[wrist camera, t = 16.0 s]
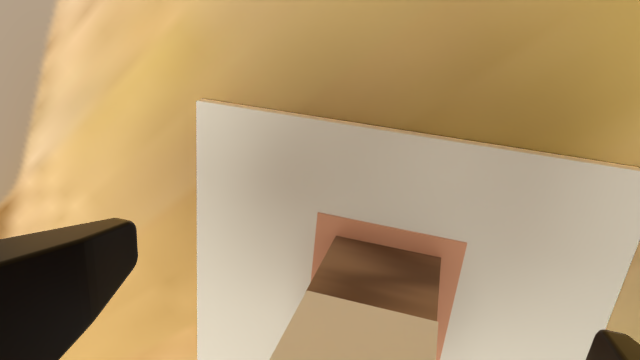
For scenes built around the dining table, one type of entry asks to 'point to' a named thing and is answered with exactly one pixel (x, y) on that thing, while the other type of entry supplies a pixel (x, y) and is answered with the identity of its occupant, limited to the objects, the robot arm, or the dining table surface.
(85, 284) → the robot arm
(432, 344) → the offwhite cube
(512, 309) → the blueprint board
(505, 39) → the dining table surface
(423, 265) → the walnut cube
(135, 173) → the dining table surface
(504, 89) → the dining table surface
